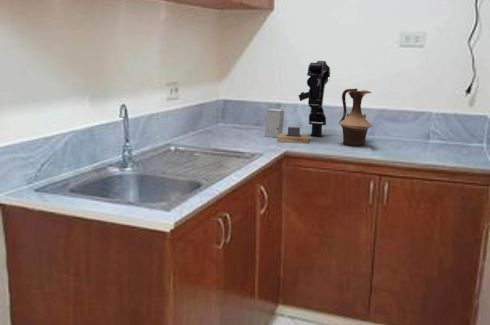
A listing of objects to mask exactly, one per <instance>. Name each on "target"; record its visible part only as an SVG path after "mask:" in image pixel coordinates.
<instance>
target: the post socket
mask: <svg viewBox="0 0 490 325" xmlns="http://www.w3.org/2000/svg"><path fill="white" fill-rule="evenodd" d="M276 138H277V139H276V142H277V143H291V144H292V143H294V144H309V143H310V134H304V133H303V134H302V133H300V137H290V136H288V133H283V132H282V133H279V135H278V137H276Z"/></svg>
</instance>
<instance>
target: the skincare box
mask: <svg viewBox="0 0 490 325" xmlns="http://www.w3.org/2000/svg"><path fill="white" fill-rule="evenodd" d="M284 117H285V110H283V109H276V108H267V110H266V118H265V119H266V120H265V130H264V135H265V137H271V138H277V137H278V135H279V133H282V134H283V132H284V130H283V129H284V119H285V118H284Z"/></svg>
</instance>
